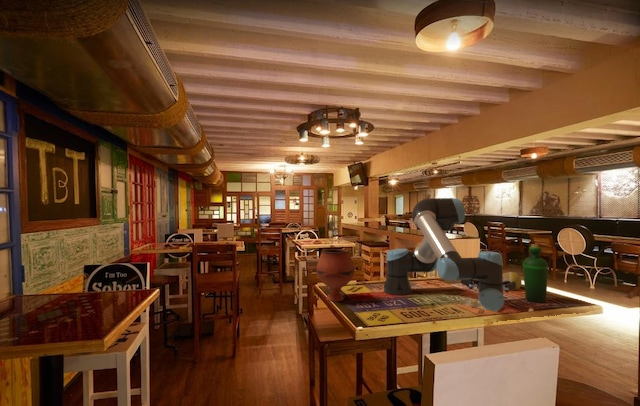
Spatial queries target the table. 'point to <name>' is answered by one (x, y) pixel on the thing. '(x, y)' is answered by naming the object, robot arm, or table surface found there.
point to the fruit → (513, 278)
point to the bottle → (535, 275)
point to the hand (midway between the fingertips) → (486, 278)
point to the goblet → (335, 271)
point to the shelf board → (473, 303)
